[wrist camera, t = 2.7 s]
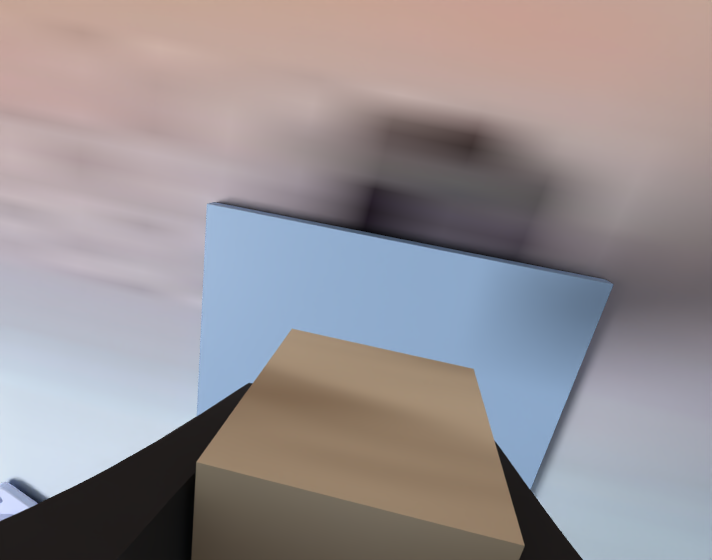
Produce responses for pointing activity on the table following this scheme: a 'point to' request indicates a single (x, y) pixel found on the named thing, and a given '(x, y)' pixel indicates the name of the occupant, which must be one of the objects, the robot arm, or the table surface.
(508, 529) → the maple cube
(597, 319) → the board
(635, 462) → the table surface
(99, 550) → the robot arm
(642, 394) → the table surface
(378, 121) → the table surface
